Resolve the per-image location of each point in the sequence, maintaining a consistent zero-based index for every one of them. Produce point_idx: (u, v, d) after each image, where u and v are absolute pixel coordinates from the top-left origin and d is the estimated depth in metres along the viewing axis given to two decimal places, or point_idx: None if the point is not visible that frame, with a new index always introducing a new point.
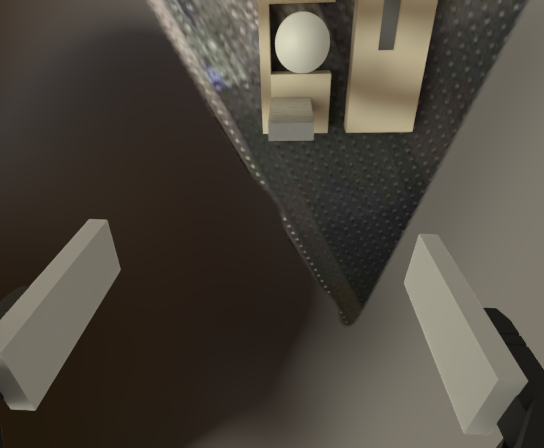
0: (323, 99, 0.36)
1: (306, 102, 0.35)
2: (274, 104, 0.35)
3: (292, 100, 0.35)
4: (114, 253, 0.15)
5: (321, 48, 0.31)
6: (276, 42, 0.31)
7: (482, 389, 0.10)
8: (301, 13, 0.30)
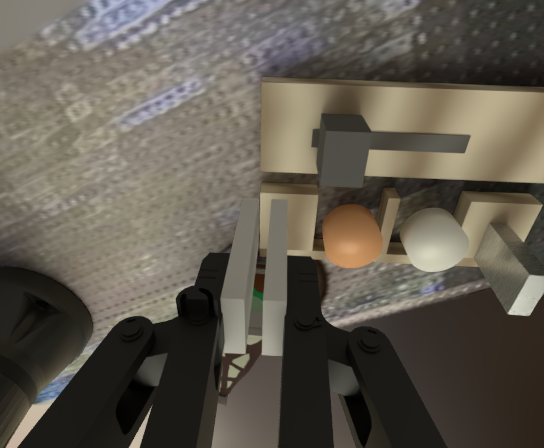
0: (498, 209, 0.30)
1: (494, 237, 0.30)
2: (483, 268, 0.32)
3: (486, 246, 0.31)
4: (258, 229, 0.17)
5: (449, 233, 0.28)
6: (428, 270, 0.30)
7: None
8: (410, 249, 0.29)
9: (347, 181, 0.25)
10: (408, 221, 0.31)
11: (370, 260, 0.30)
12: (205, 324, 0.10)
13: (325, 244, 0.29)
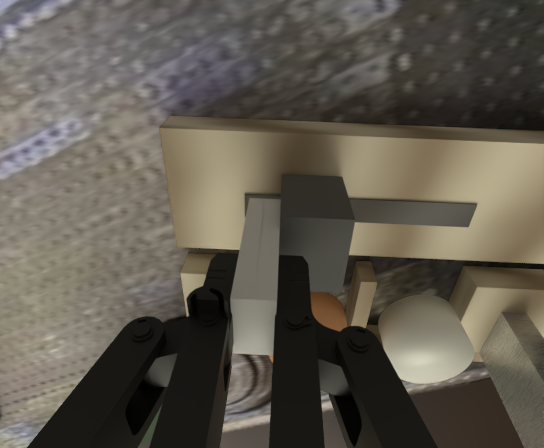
0: (514, 296, 0.22)
1: (510, 337, 0.21)
2: (492, 373, 0.23)
3: (497, 343, 0.23)
4: None
5: (446, 340, 0.20)
6: (417, 381, 0.22)
7: None
8: (390, 357, 0.21)
9: (318, 284, 0.16)
10: (389, 312, 0.22)
11: None
12: (215, 325, 0.10)
13: None
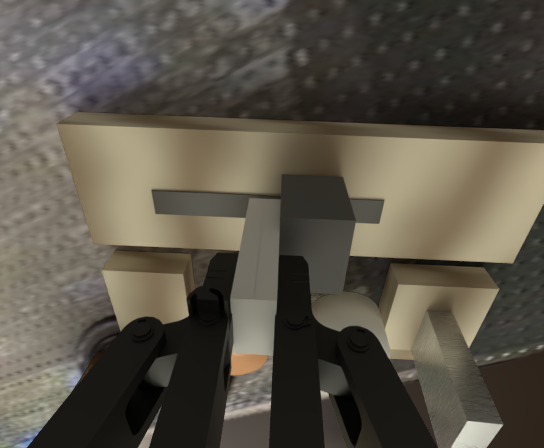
0: (437, 294, 0.21)
1: (431, 334, 0.21)
2: (419, 371, 0.23)
3: (422, 341, 0.22)
4: None
5: None
6: None
7: None
8: None
9: (319, 286, 0.16)
10: None
11: (255, 367, 0.21)
12: (215, 325, 0.10)
13: None
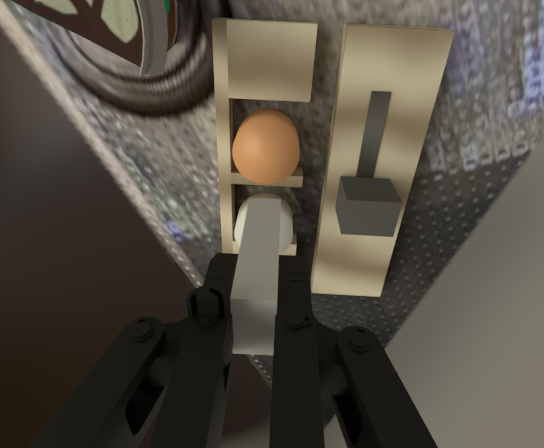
0: None
1: None
2: None
3: None
4: None
5: (283, 240, 0.29)
6: (235, 231, 0.29)
7: None
8: None
9: (349, 222, 0.26)
10: None
11: (245, 174, 0.26)
12: (215, 325, 0.10)
13: (266, 121, 0.24)
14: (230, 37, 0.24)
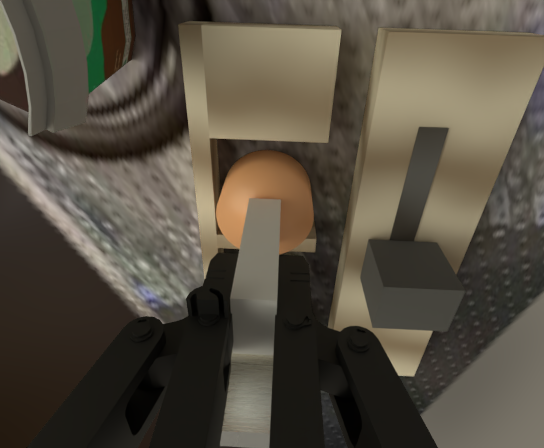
0: None
1: (270, 355, 0.25)
2: None
3: None
4: None
5: None
6: None
7: None
8: None
9: (385, 314, 0.18)
10: None
11: (235, 243, 0.18)
12: (215, 325, 0.10)
13: (265, 174, 0.16)
14: (208, 51, 0.16)
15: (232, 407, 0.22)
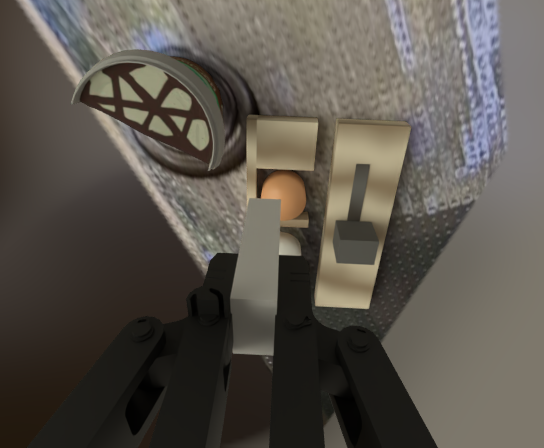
0: None
1: None
2: None
3: None
4: None
5: None
6: None
7: None
8: (280, 246, 0.38)
9: (342, 255, 0.37)
10: (291, 236, 0.40)
11: None
12: (215, 325, 0.10)
13: (284, 180, 0.36)
14: (259, 130, 0.35)
15: None
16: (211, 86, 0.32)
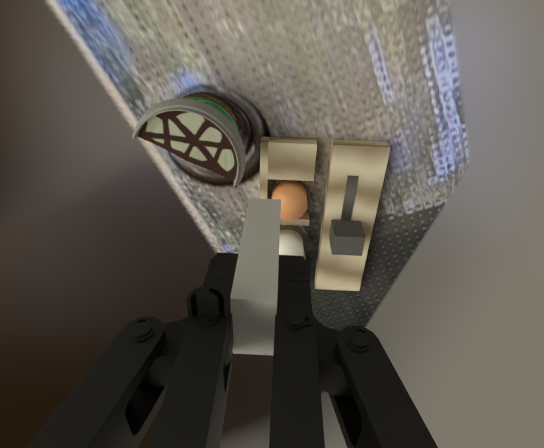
0: None
1: None
2: None
3: None
4: None
5: None
6: None
7: None
8: (286, 241, 0.48)
9: (336, 248, 0.47)
10: (295, 233, 0.50)
11: None
12: (215, 325, 0.10)
13: (290, 189, 0.45)
14: (270, 150, 0.44)
15: None
16: (233, 117, 0.41)
